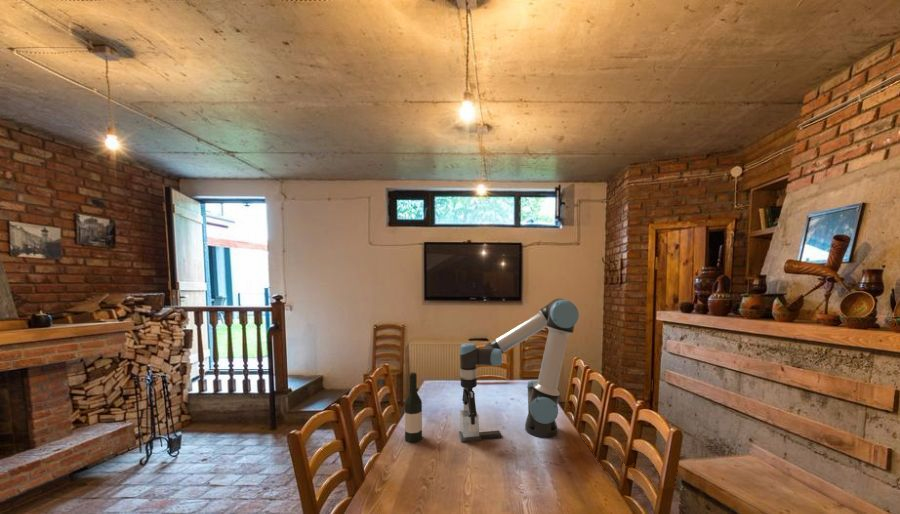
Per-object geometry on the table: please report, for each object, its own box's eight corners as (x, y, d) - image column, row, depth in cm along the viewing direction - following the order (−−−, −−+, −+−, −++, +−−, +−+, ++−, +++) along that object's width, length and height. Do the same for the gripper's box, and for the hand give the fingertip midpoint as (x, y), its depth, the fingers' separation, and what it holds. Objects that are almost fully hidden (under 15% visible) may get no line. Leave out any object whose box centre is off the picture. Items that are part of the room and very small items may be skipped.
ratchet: (498, 433, 155) (498, 419, 156) (501, 438, 150) (501, 423, 151) (459, 436, 152) (458, 422, 153) (461, 442, 147) (460, 427, 148)
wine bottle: (419, 443, 146) (418, 375, 149) (401, 442, 148) (401, 374, 150) (424, 435, 155) (424, 370, 157) (407, 433, 156) (407, 369, 158)
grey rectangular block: (475, 429, 155) (475, 409, 155) (479, 436, 148) (478, 415, 148) (460, 430, 154) (460, 410, 154) (463, 437, 147) (462, 416, 147)
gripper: (456, 370, 164) (456, 414, 163) (465, 386, 140) (466, 437, 138) (470, 370, 165) (471, 413, 164) (482, 385, 141) (484, 436, 139)
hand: (469, 424), depth 151 cm, fingers open, 13 cm apart
